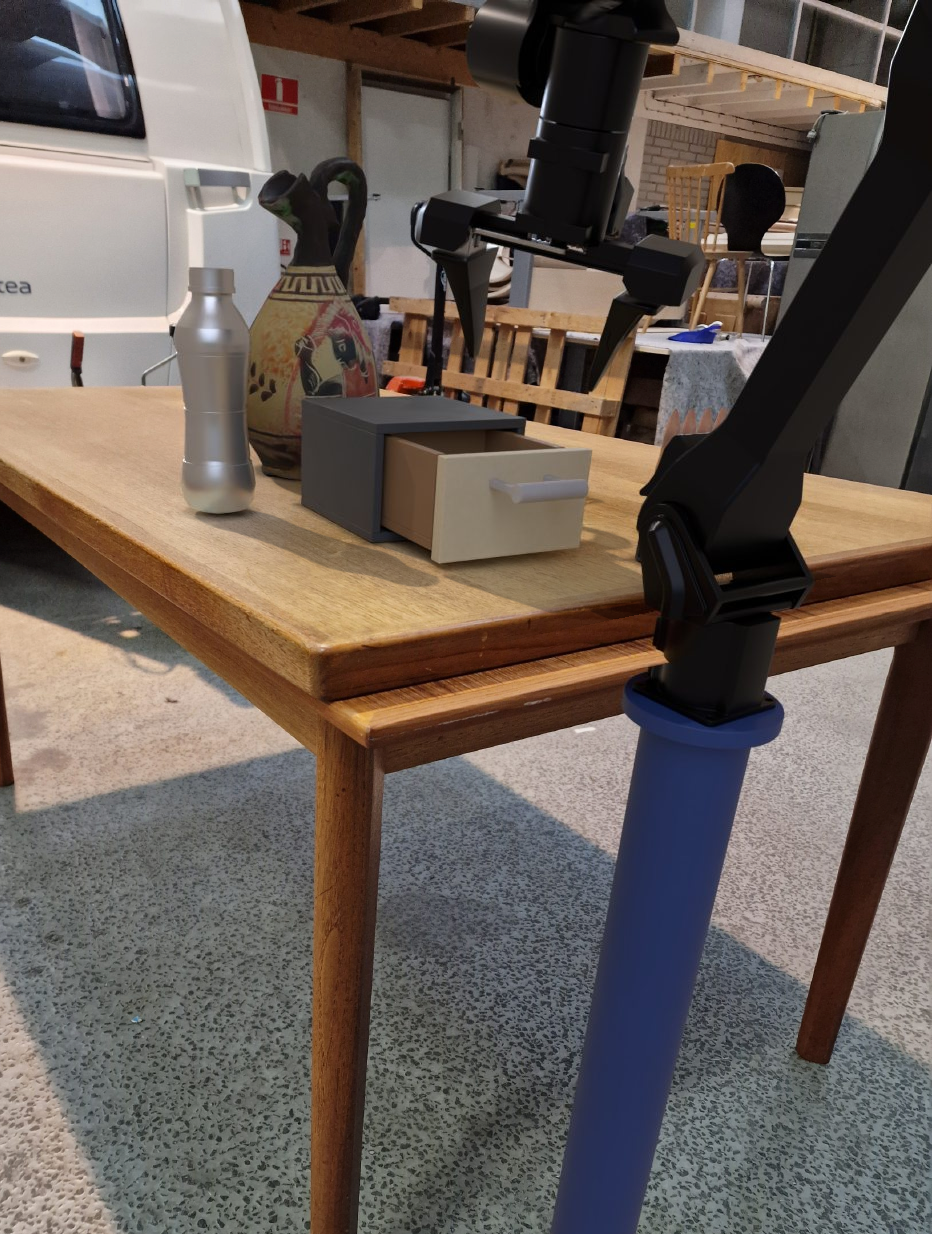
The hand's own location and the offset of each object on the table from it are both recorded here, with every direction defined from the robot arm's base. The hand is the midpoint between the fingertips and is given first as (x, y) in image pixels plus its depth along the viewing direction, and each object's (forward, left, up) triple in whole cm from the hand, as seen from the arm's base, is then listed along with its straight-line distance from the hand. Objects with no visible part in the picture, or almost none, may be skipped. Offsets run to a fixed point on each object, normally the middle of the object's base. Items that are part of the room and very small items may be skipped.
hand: (531, 373), depth 70 cm
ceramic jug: (+38, -3, -15) cm, 40 cm away
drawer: (+4, 0, -13) cm, 14 cm away
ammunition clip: (-4, -16, -15) cm, 22 cm away
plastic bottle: (+25, +14, -15) cm, 32 cm away
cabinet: (+17, -1, -14) cm, 22 cm away
